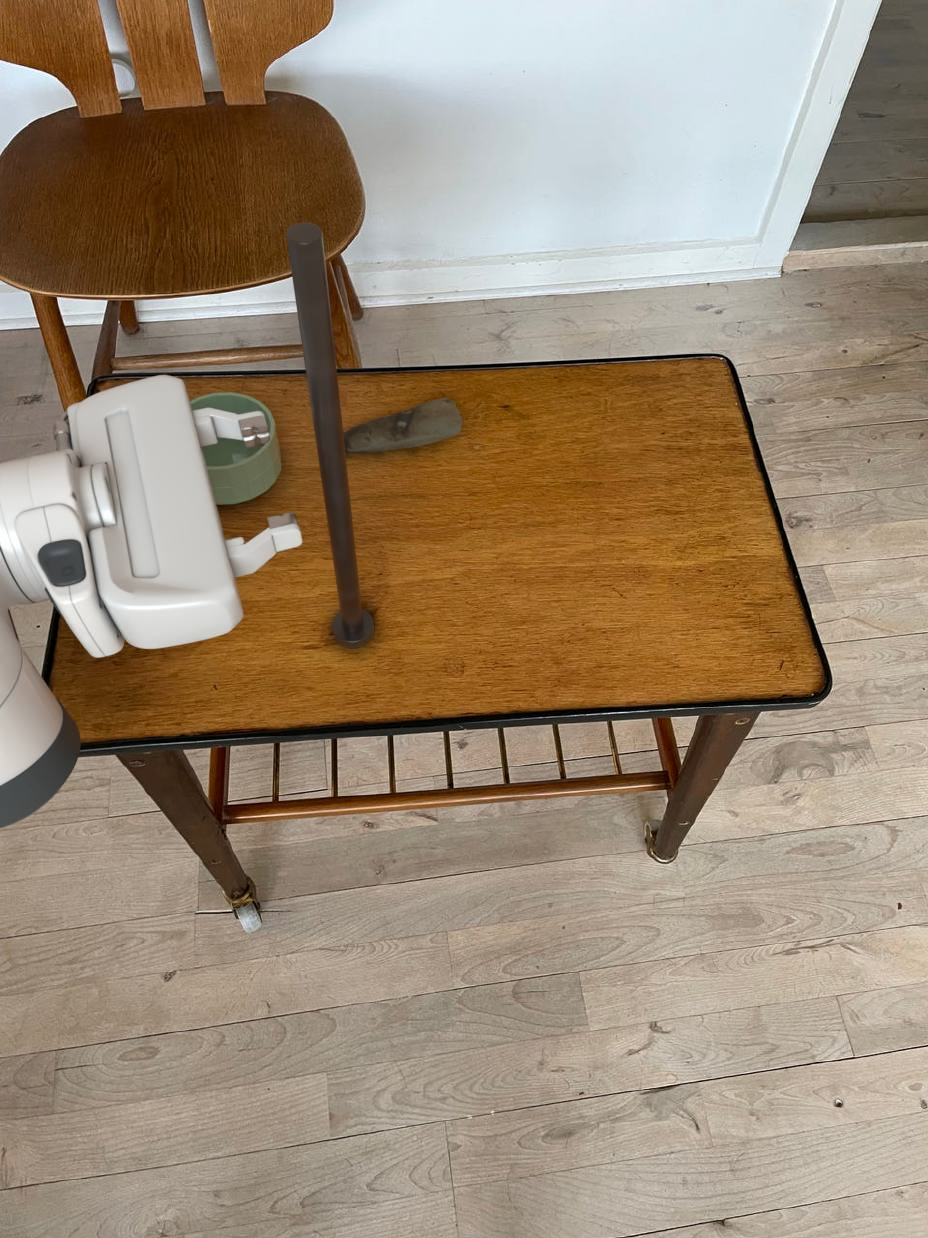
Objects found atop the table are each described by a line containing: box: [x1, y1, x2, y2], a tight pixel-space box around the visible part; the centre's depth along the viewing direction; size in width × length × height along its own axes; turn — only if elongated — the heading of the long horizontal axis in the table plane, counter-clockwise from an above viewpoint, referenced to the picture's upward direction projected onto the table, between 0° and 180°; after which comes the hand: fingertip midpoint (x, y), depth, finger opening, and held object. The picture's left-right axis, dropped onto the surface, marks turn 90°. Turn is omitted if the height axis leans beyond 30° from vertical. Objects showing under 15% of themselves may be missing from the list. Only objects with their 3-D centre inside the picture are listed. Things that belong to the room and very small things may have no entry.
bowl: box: [190, 391, 283, 506], centre depth 82 cm, size 10×10×6 cm
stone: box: [343, 397, 463, 454], centre depth 86 cm, size 13×5×2 cm, turn 112°
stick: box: [285, 222, 375, 650], centre depth 59 cm, size 4×4×38 cm
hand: (282, 475), depth 56 cm, fingers open, 8 cm apart
